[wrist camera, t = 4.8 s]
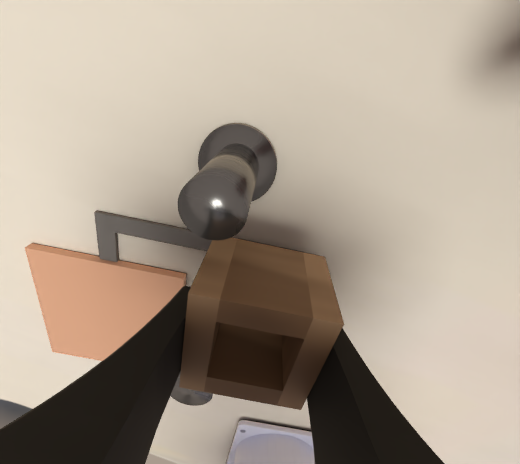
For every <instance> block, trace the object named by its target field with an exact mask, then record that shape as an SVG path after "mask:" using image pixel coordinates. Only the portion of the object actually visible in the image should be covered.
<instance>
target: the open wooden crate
mask: <svg viewBox="0 0 520 464" xmlns="http://www.w3.org/2000/svg"><path fill="white" fill-rule="evenodd" d="M343 325H344V322H343V319H342V315H341V312H340V308H339V305H338V301H337V298H336V294H335V291H334V287H333V284H332V280H331V277H330V273H329V270H328V266H327V263H326V259H325V257H323V256H318V255H313V254H309V253H304V252H299V251H294V250H289V249H285V248H280V247H275V246H270V245H266V244H261V243H256V242H251V241H247V240H242V239H237V238H232V237H231V238H228V239H225V240H218V241H217V240H212V242H211V244H210V246H209V249H208V251H207V253H206V255H205V257H204V259H203V262H202V264H201V266H200V268H199V270H198V273H197V275H196V277H195V279H194V281H193V284H192V286H191V288H190V290H189V292H188V300H187V311H186V321H185V332H184V342H183V352H182V363H181V373H180V384H179V387H180V388H186V389H191V390H197V391H202V392H207V393H213V394H218V395H223V396H229V397H234V398H240V399H245V400H250V401H256V402H261V403H267V404H272V405H277V406H283V407H288V408H293V409H299V410H301V409H302V407H303V405H304V403H305V401H306V399H307V397H308V395H309V393H310V391H311V389H312V387H313V385H314V383H315V381H316V379H317V377H318V375H319V373H320V371H321V369H322V367H323V365H324V363H325V361H326V359H327V357H328V355H329V353H330V351H331V349H332V347H333V345H334V343H335V341H336V339H337V337H338V335H339V333H340V331H341V329H342V327H343Z"/></svg>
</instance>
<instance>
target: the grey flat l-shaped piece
mask: <svg viewBox="0 0 520 464" xmlns="http://www.w3.org/2000/svg"><path fill="white" fill-rule="evenodd" d="M94 213H95V222H96V231H97V240H98V249H99V258H100V259H103V260H108V261H113V262H118V261H119V256H118V241H117V233H120V234H125V235H130V236H135V237H140V238H145V239H150V240H155V241H160V242H165V243H170V244H175V245H180V246H185V247H189V248H194V249H199V250H204V251H208V249H209V246H210V244H211V242H212V240H208V239H204V238H202V237H200V236H198V235H196V234H194V233H193V232H192V231H190V230H189V229H184V228H179V227H174V226H170V225H165V224H160V223H155V222H150V221H145V220H140V219H135V218H130V217H125V216H121V215H116V214H111V213H106V212H101V211H95V212H94Z"/></svg>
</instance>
